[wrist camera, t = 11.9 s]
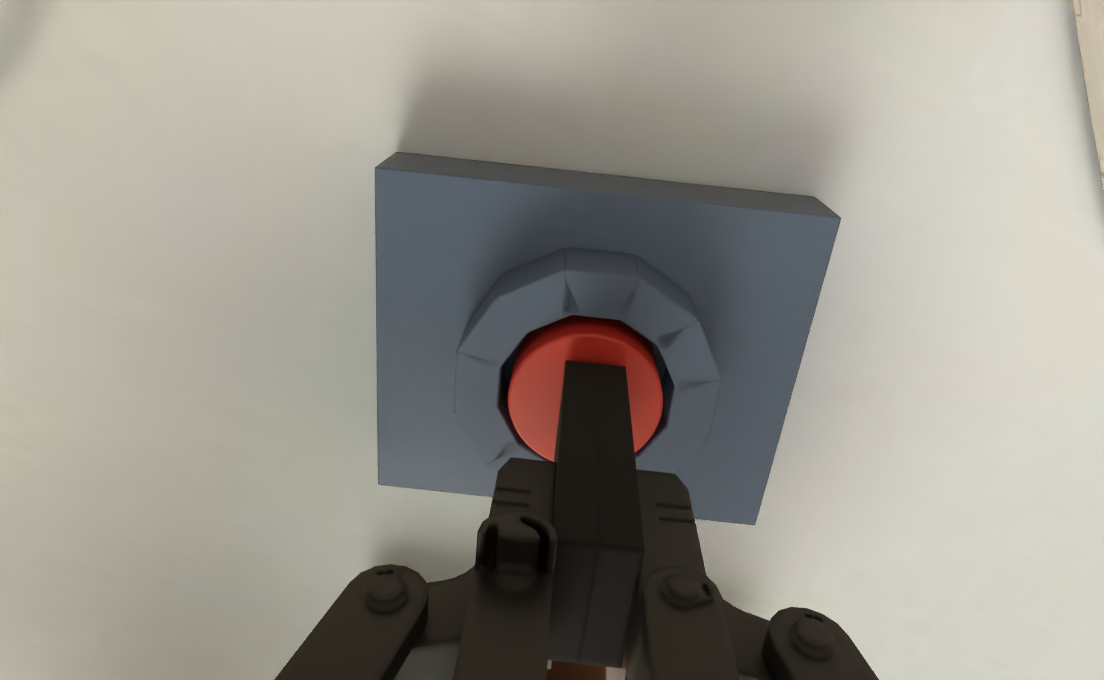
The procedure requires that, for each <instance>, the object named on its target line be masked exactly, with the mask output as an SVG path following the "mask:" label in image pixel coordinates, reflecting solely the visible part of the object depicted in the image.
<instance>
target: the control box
mask: <svg viewBox="0 0 1104 680" xmlns="http://www.w3.org/2000/svg"><path fill="white" fill-rule="evenodd" d="M840 220H841V217H840V216H838V215H837V214H836V213H835V212H833V211H832V210H831V209H830V208H828V207H827V206H826V205H824V204H823V203H822V202H821V201H819V200H818V199H817V198H815V197H808V196H799V195H789V194H780V193H771V192H762V191H752V190H743V189H734V188H725V187H715V186H706V185H697V184H688V183H678V182H669V181H660V180H651V179H641V178H632V177H623V176H614V175H604V174H595V173H586V172H577V171H567V170H558V169H549V168H540V167H530V166H521V165H512V164H503V163H493V162H484V161H475V160H466V159H456V158H447V157H438V156H429V155H419V154H410V153H401V152H396V153H394V154H393V155H392V156H390V157H389V158H387V159H386V160H385V161H383V162H382V163H380V164H379V165H378V166H376V167H375V235H376V332H377V430H378V484H379V485H385V486H395V487H404V488H413V489H423V490H432V491H441V492H450V493H460V494H469V495H478V496H488V497H493V495H494V490H495V485H496V480H497V475H498V470H499V469H500V468H501V467H502V466H503V465H504V464H505V463H506V462H507V461H508V460H509V459H510V458H511V457H514V458H523V459H532V460H541V461H550V460H548V459H546V458H544V457H543V456H541V455H539V454H538V453H536V452H535V451H534V450H532V449H531V448H530V447H529V446H528V445H527V444H526V443H525V442H524V440H523V439H522V438H521V437H520V435H519V434H518V432H517V431H516V429H515V427H514V425H513V423H512V420H511V417H510V414H509V408H508V391H509V385H510V380H511V376H512V371H513V366H514V361H515V357H516V354H517V351H518V349H519V347H520V344H521V343H522V341H523V340H524V338H525V337H526V335H527V334H528V333H529V332H530V331H533V330H535V329H538V328H540V327H543V326H545V325H548V324H550V323H553V322H555V321H558V320H560V319H563V318H565V317H568V316H570V315H578V316H587V317H596V318H606V319H615V320H621V321H622V322H624V323H625V324H626V325H628V326H629V327H631V328H632V329H634V330H635V331H636V332H638V333H639V334H641V335H642V336H644V337H645V338H647V340H648V341H649V343H650V345H651V347H652V349H653V351H654V354H655V357H656V362H657V367H658V372H659V377H660V381H661V387H662V392H663V409H662V414H661V418H660V421H659V423H658V426H657V428H656V430H655V431H654V433H653V435H652V436H651V437H650V439H649V440H648V441H647V442H646V443H645V444H644V445H643V446H642V447H641V448H640V449H639V450H638V451H637V452H635V461H636V469H638V470H647V471H656V472H665V473H674V474H676V475H677V476H678V477H679V479H680V480H681V481H682V482H683V484H684V485H685V486H686V487H687V489H688V491H689V495H690V500H691V505H692V510H693V515H694V519H701V520H711V521H720V522H729V523H738V524H748V525H755V523H756V520H757V516H758V513H759V509H760V506H761V502H762V498H763V495H764V491H765V488H766V484H767V481H768V477H769V473H770V470H771V466H772V463H773V459H774V456H775V452H776V449H777V445H778V441H779V438H780V434H781V431H782V427H783V424H784V420H785V416H786V413H787V409H788V406H789V402H790V399H791V395H792V391H793V388H794V384H795V381H796V377H797V374H798V370H799V367H800V363H801V359H802V356H803V352H804V349H805V345H806V342H807V338H808V334H809V331H810V327H811V324H812V320H813V317H814V313H815V309H816V306H817V302H818V299H819V295H820V292H821V288H822V285H823V281H824V277H825V274H826V270H827V267H828V263H829V260H830V256H831V252H832V249H833V245H834V242H835V238H836V235H837V231H838V228H839V224H840ZM550 462H553V461H550Z"/></svg>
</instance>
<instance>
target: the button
mask: <svg viewBox="0 0 1104 680" xmlns="http://www.w3.org/2000/svg"><path fill="white" fill-rule="evenodd" d="M566 360H571V361H580V362H589V363H598V364H607V365H616V366H625V367H626V373H627V383H628V393H629V402H630V412H631V422H632V432H633V441H634V451H635V452H637V451H638V450H639V449H640V448H641V447H642V446H643V445H644V444H645V443H646V442H647V441H648V440H649V439H650V437H651V436H652V435H653V433H654V431H655V430H656V428H657V426H658V423H659V421H660V418H661V414H662V409H663V392H662V387H661V381H660V377H659V372H658V367H657V362H656V357H655V354H654V351H653V349H652V347H651V345H650V343H649V341H648V340H647V338H645V337H644V336H642V335H641V334H639V333H638V332H636V331H635V330H634V329H632V328H631V327H629V326H628V325H626V324H625V323H624V322H622V321H621V320H615V319H606V318H596V317H587V316H578V315H570V316H568V317H565V318H563V319H560V320H558V321H555V322H553V323H550V324H548V325H545V326H543V327H540V328H538V329H535V330H533V331H530V332H529V333H528V334H527V335H526V337H525V338H524V340H523V341H522V343H521V344H520V347H519V349H518V351H517V354H516V357H515V361H514V366H513V371H512V376H511V380H510V385H509V391H508V408H509V414H510V417H511V420H512V423H513V425H514V427H515V429H516V431H517V432H518V434H519V435H520V437H521V438H522V439H523V440H524V442H525V443H526V444H527V445H528V446H529V447H530V448H531V449H532V450H534V451H535V452H536V453H538V454H539V455H541V456H543V457H544V458H546V459H548V460H550V461H553V462H554V455H555V445H556V437H557V429H558V420H559V412H560V403H561V395H562V387H563V378H564V370H565V361H566Z"/></svg>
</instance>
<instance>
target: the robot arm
mask: <svg viewBox="0 0 1104 680" xmlns="http://www.w3.org/2000/svg"><path fill="white" fill-rule="evenodd" d="M624 652H625V663H626V676H625V680H879V679H878V678H877V676H876V675H875V673H874V672H873V670H872V669H871V668H870V666H869V665H868V663H867V662H866V660H865V659H864V657H863V656H862V655H861V653H860V652H859V650H858V649H857V647H856V646H855V644H854V643H853V642H852V640H851V639H850V637H849V636H848V635H847V634H846V633H845V631H844V630H843V629H842V628H841V627H840V626H839V625H838V624H837V623H836V622H834V621H832V620H831V619H829V618H828V617H826V616H825V615H823V614H821V613H818V612H815V611H813V610H810V609H807V608H797V607H790V608H786V609H783V610H779V611H778V612H777V613H776V614H775V615H774V616H773V617H772V618H771V620H770V621H768V620H766V619H763V618H760V617H757V616H755V615H752V614H749V613H746V612H744V611H742V610H740V609H738V608H736V607H734V606H732V605H731V604H729V603H728V602H726V601H725V600H723V599H722V597H721V594H720V592H719V590H718V588H717V586H716V585H715V584H714V583H713V582H712V581H711V580H710V579H709V578H708V577H707V576H706V572H705V568H704V563H703V558H702V553H701V548H700V543H699V539H698V534H697V529H696V524H695V519H694V515H693V510H692V505H691V500H690V495H689V491H688V489H687V487H686V486H685V485H684V484H683V482H682V481H681V480H680V479H679V477H678V476H677V475H676V474H674V473H665V472H656V471H647V470H638V469H636V461H635V451H634V441H633V432H632V422H631V412H630V402H629V393H628V383H627V373H626V367H625V366H616V365H607V364H598V363H589V362H580V361H571V360H566V361H565V370H564V378H563V387H562V395H561V403H560V412H559V420H558V429H557V437H556V445H555V455H554V462H550V461H541V460H532V459H523V458H514V457H511V458H510V459H509V460H508V461H507V462H506V463H505V464H504V465H503V466H502V467H501V468H500V469H499V470H498V475H497V480H496V485H495V490H494V495H493V500H492V505H491V510H490V515H489V518H487V519H486V520H485V521H483V522H482V524H481V526H480V528H479V530H478V532H477V547H476V562H475V565H474V566H473V567H472V568H471V569H470V570H468V571H467V572H466V573H464V574H462V575H460V576H457V577H455V578H452V579H448V580H443V581H437V582H430V583H426V581H425V580H424V579H423V578H422V576H421V575H420V574H419V573H418V572H416V571H414V570H412V569H410V568H408V567H406V566H399V565H392V564H390V565H382V566H375V567H373V568H371V569H368V570H366V571H364V572H361V573H360V574H359V575H358V576H357V577H355V578H354V579H353V580H352V581H351V582H350V583H349V584H348V585H347V587H346V588H345V589H344V591H343V592H342V593H341V594H340V596H339V597H338V598H337V600H336V601H335V602H334V603H333V605H332V606H331V607H330V609H329V610H328V611H327V612H326V614H325V615H324V616H323V618H322V619H321V620H320V622H319V623H318V624H317V625H316V627H315V628H314V629H313V631H312V632H311V633H310V634H309V636H308V637H307V638H306V640H305V641H304V642H303V643H302V645H301V646H300V647H299V649H298V650H297V651H296V652H295V654H294V655H293V656H292V658H291V659H290V660H289V661H288V663H287V664H286V665H285V667H284V668H283V669H282V670H281V672H280V673H279V674H278V676H277V677H276V678H275V679H274V680H547V666H548V660H552V661H561V662H570V663H579V664H588V665H597V666H606V667H615V668H621V667H622V662H623V657H624Z"/></svg>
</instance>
